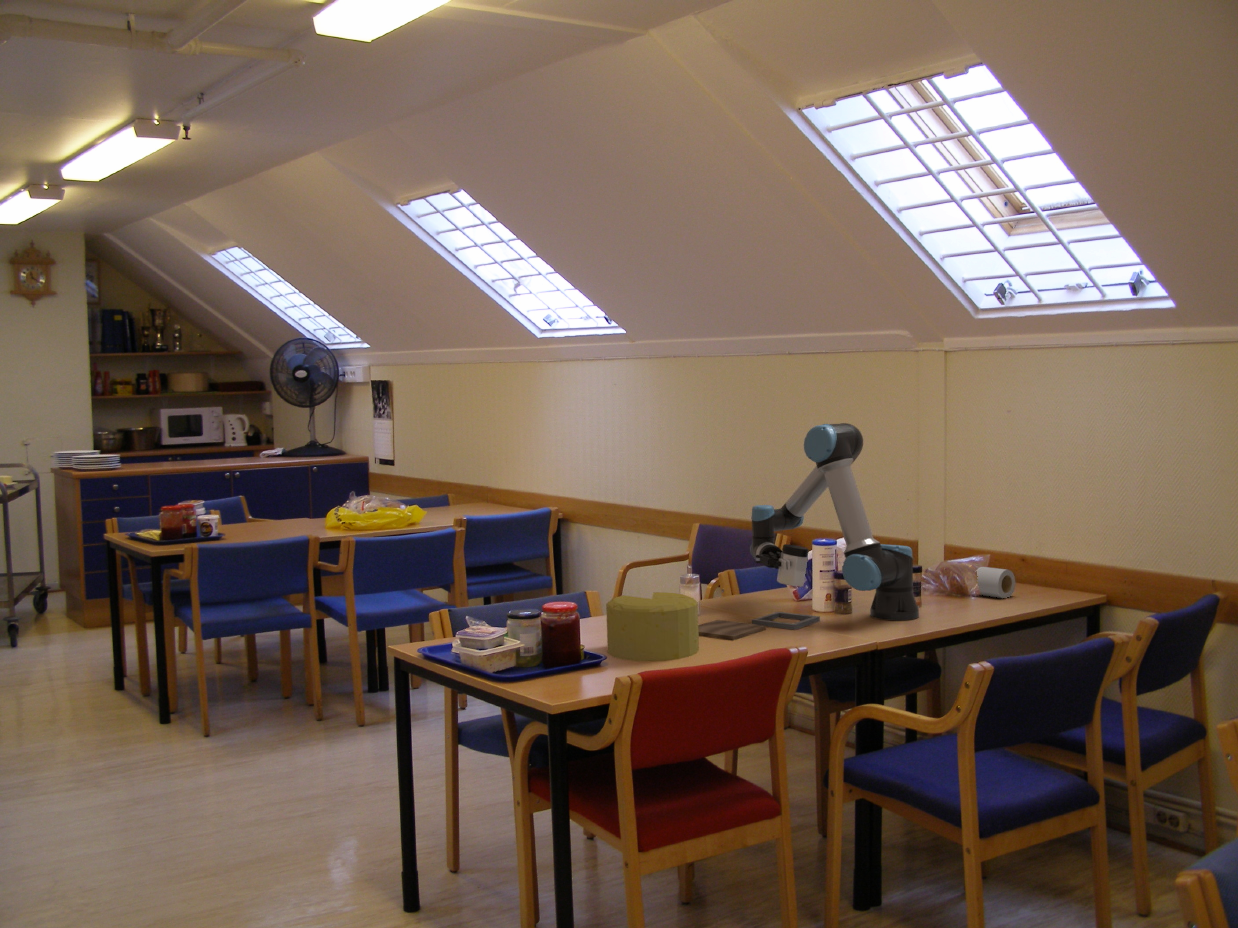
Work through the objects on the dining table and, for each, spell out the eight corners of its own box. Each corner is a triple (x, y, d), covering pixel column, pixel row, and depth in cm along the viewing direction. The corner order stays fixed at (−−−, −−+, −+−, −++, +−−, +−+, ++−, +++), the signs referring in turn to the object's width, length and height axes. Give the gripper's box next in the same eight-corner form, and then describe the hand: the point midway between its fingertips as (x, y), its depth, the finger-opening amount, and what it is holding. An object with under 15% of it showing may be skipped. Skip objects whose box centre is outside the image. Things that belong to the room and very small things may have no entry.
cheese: (628, 638, 329) (626, 589, 328) (710, 643, 319) (709, 592, 318) (592, 658, 305) (591, 605, 304) (681, 664, 295) (679, 609, 294)
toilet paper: (972, 596, 380) (972, 568, 380) (990, 593, 386) (989, 565, 386) (998, 600, 372) (998, 571, 372) (1015, 596, 378) (1015, 568, 378)
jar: (774, 579, 352) (780, 542, 351) (799, 583, 352) (805, 546, 351) (779, 584, 343) (785, 546, 342) (805, 588, 343) (811, 550, 342)
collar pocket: (819, 621, 346) (819, 616, 346) (794, 629, 334) (794, 624, 334) (777, 616, 356) (777, 611, 356) (751, 624, 344) (751, 619, 344)
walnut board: (765, 629, 336) (765, 625, 336) (733, 640, 322) (733, 636, 322) (717, 623, 347) (717, 619, 347) (683, 633, 334) (683, 629, 334)
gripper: (790, 565, 363) (808, 576, 339) (749, 567, 362) (765, 578, 338) (789, 543, 362) (808, 552, 339) (749, 544, 361) (765, 554, 338)
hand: (787, 565), depth 339 cm, fingers closed on jar
